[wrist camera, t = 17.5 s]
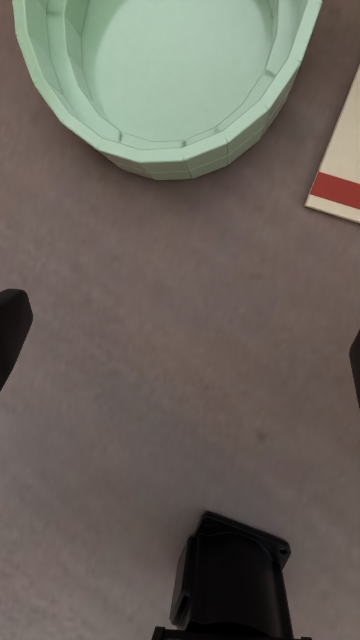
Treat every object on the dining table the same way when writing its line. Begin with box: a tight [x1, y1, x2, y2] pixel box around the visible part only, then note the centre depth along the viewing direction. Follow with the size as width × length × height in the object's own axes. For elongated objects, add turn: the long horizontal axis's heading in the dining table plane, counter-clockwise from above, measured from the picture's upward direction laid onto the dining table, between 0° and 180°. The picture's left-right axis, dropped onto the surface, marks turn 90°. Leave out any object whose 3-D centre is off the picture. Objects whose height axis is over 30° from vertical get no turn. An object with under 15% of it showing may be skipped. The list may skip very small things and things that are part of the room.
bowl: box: [12, 0, 322, 180], centre depth 16 cm, size 13×13×4 cm
